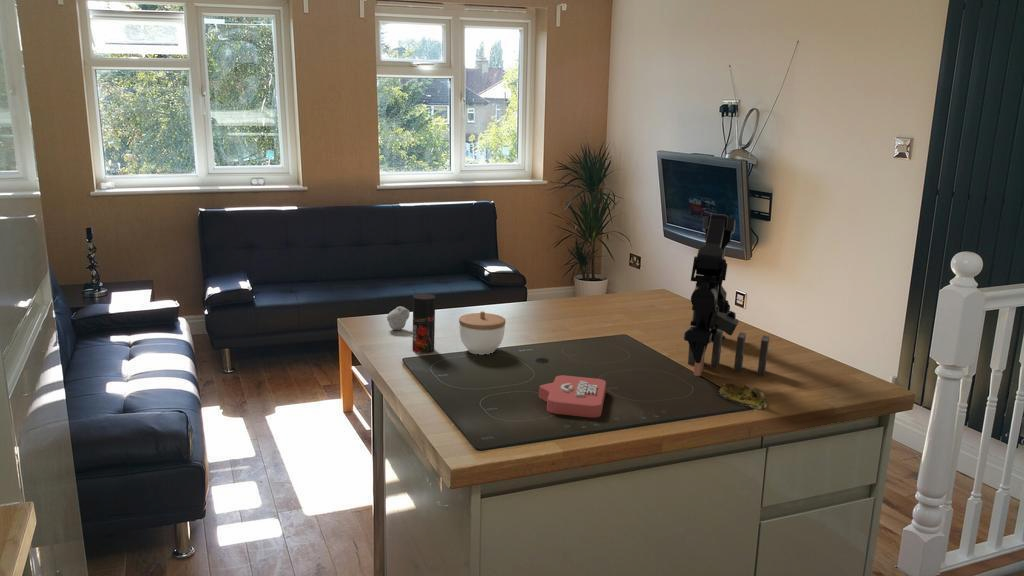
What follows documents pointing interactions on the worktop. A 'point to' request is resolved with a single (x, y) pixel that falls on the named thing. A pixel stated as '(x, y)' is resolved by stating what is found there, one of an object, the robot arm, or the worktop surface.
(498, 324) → the lidded bowl
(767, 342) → the domino
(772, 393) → the worktop surface
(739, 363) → the domino
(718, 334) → the domino
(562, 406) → the plaque
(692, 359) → the domino
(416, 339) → the deodorant
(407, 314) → the grey lumpy stone
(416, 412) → the worktop surface
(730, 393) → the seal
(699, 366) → the domino
